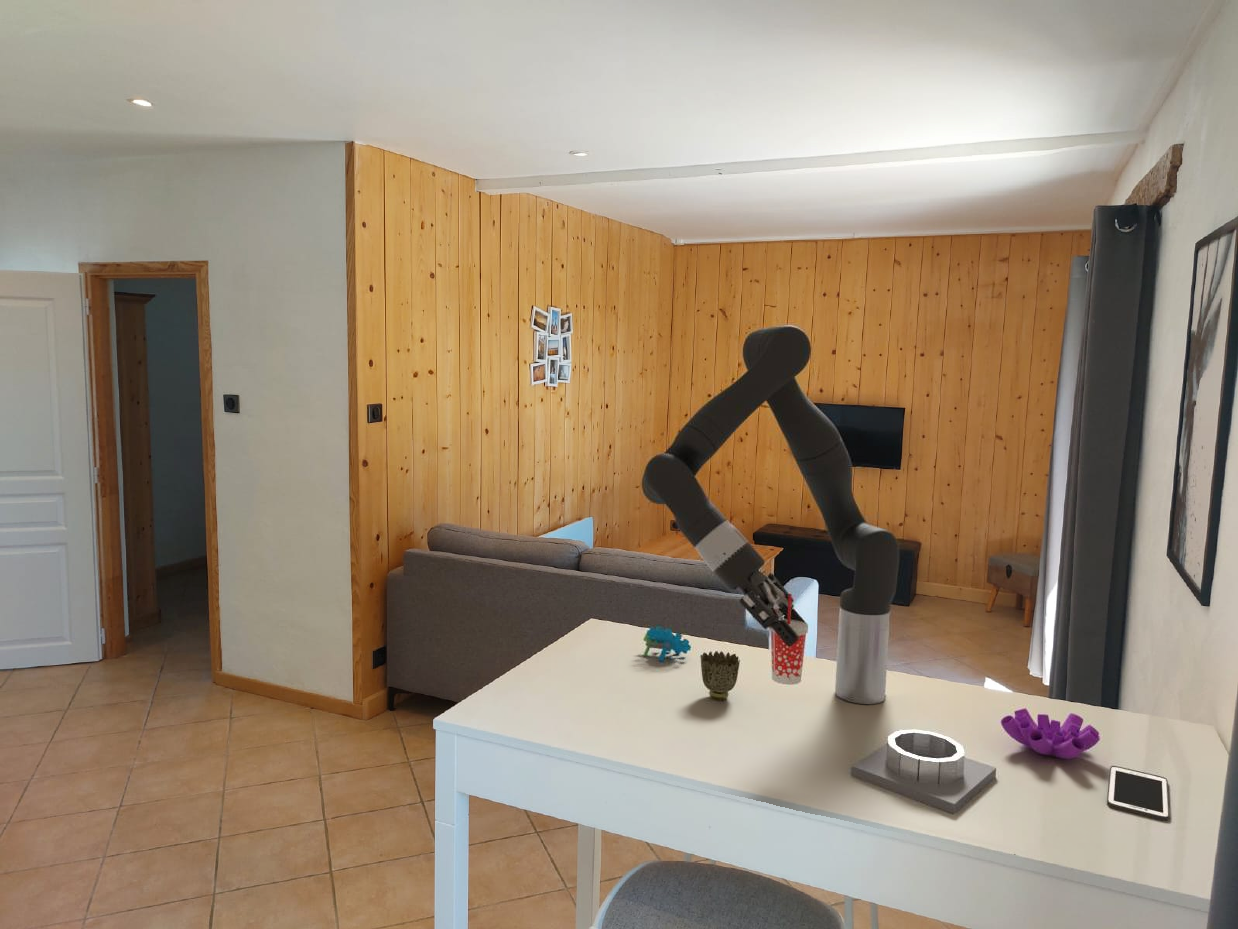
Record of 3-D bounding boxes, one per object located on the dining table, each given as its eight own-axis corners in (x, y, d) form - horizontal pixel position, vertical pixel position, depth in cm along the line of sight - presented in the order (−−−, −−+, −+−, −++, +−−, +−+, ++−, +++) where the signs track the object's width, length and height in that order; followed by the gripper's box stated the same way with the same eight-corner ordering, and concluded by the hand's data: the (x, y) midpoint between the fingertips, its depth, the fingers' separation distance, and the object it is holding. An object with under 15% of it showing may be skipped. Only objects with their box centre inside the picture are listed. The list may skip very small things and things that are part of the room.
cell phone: (1167, 783, 132) (1167, 777, 132) (1169, 825, 119) (1169, 818, 119) (1109, 770, 136) (1110, 764, 136) (1106, 809, 123) (1106, 803, 123)
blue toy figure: (699, 650, 183) (678, 625, 177) (690, 675, 180) (668, 650, 174) (658, 646, 190) (636, 621, 184) (649, 669, 187) (626, 645, 181)
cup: (740, 706, 157) (742, 664, 156) (700, 705, 157) (702, 663, 156) (735, 691, 165) (737, 651, 164) (697, 689, 165) (699, 650, 164)
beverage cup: (813, 683, 134) (817, 597, 132) (780, 688, 132) (784, 601, 130) (792, 670, 140) (795, 587, 138) (759, 674, 138) (763, 590, 136)
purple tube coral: (1098, 783, 137) (1113, 754, 131) (998, 769, 141) (1008, 740, 135) (1087, 721, 145) (1101, 690, 139) (993, 710, 149) (1002, 679, 143)
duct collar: (905, 744, 139) (907, 724, 139) (973, 767, 131) (975, 745, 131) (874, 766, 131) (875, 744, 131) (944, 791, 123) (945, 768, 123)
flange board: (897, 744, 143) (898, 735, 142) (995, 777, 132) (996, 767, 131) (850, 775, 131) (851, 765, 131) (953, 814, 120) (954, 804, 120)
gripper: (733, 549, 130) (807, 635, 126) (757, 533, 143) (825, 610, 139) (699, 579, 132) (771, 664, 129) (725, 560, 146) (791, 637, 142)
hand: (798, 636), depth 134 cm, fingers closed on beverage cup, 6 cm apart
